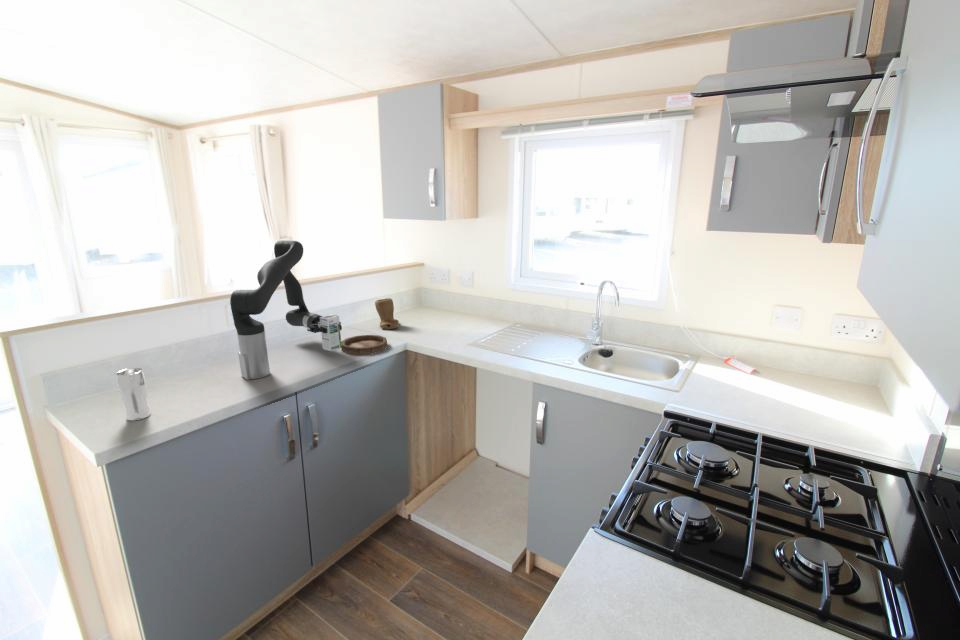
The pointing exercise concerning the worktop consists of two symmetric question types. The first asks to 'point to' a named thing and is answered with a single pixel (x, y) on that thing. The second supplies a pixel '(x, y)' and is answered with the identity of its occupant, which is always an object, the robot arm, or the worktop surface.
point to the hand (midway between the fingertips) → (333, 329)
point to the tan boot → (386, 313)
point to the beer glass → (133, 393)
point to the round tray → (364, 344)
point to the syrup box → (331, 332)
